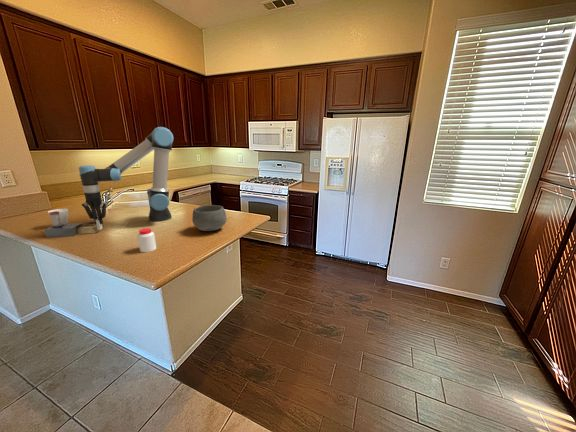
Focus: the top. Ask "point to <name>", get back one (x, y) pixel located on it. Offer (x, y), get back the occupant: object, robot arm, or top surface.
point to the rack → (89, 224)
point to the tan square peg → (87, 229)
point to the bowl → (209, 217)
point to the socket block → (62, 230)
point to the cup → (62, 215)
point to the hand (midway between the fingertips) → (100, 228)
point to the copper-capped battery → (56, 219)
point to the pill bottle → (146, 240)
